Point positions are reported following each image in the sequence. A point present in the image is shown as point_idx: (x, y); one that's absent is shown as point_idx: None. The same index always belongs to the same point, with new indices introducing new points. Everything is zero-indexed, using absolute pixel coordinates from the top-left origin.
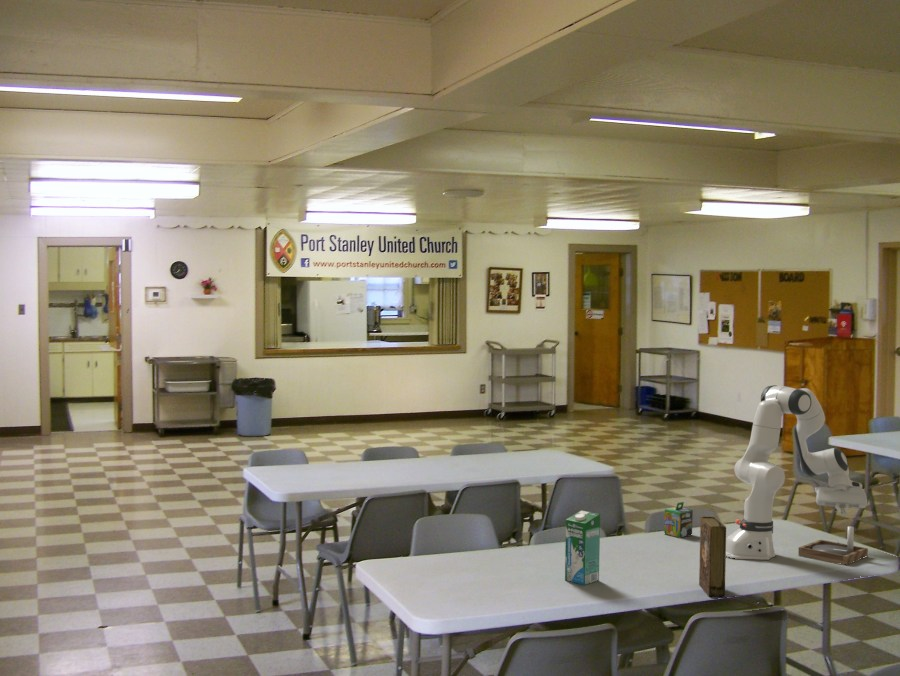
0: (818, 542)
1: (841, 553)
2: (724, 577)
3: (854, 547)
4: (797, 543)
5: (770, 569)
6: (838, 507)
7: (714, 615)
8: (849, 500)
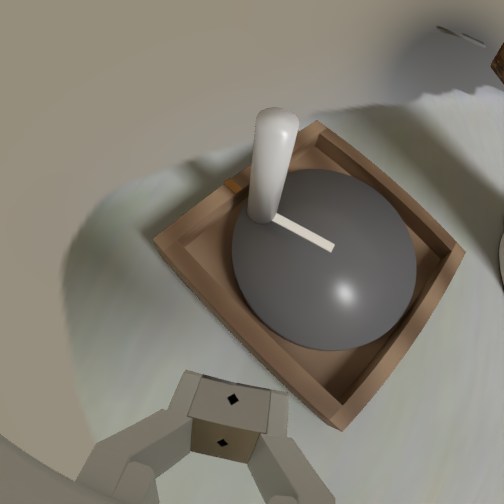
0: (373, 368)
1: (315, 179)
2: (500, 49)
3: (207, 273)
4: (399, 483)
5: (486, 142)
6: (296, 459)
7: (477, 42)
8: (21, 502)
